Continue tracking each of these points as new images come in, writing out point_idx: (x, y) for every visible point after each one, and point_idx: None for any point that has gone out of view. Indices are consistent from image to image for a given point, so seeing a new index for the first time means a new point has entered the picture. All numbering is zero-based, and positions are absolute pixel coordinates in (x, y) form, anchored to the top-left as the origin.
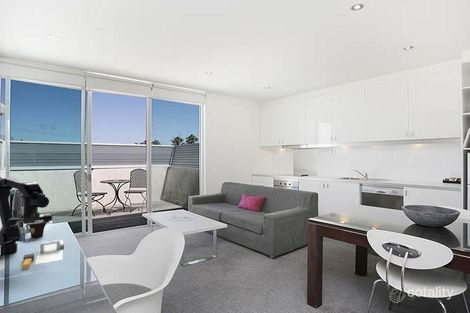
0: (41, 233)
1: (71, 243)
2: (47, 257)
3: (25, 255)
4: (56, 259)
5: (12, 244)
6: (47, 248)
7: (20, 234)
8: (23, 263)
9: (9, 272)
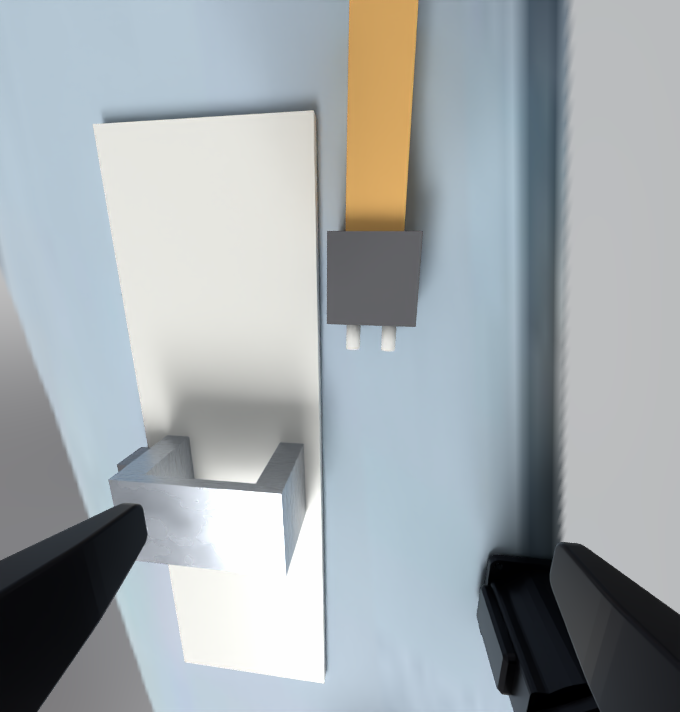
0: (115, 515)
1: None
2: (231, 276)
3: (405, 302)
4: (145, 160)
5: (547, 668)
6: None
7: (592, 648)
8: (410, 49)
9: (524, 38)
